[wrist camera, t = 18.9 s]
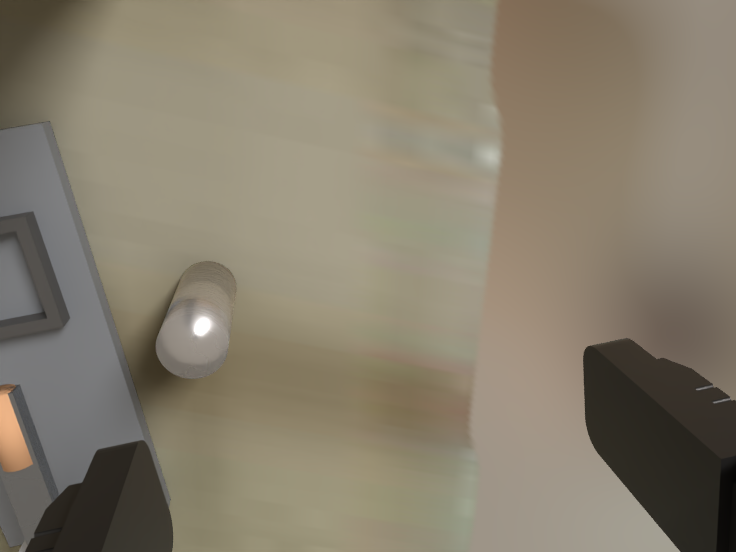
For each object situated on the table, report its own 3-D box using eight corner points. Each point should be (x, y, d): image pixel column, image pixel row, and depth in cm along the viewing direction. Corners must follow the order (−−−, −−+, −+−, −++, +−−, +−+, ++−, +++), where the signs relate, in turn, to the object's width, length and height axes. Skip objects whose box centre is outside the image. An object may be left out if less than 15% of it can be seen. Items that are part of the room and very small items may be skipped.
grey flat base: (-149, 154, 39) (-254, 178, 31) (49, 121, 40) (-4, 136, 32) (17, 533, 49) (-32, 624, 41) (170, 499, 50) (152, 581, 42)
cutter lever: (-16, 388, 40) (-33, 404, 38) (22, 380, 40) (9, 396, 38) (64, 601, 45) (53, 626, 43) (98, 593, 45) (89, 617, 43)
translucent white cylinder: (173, 266, 44) (147, 322, 35) (229, 256, 45) (218, 308, 35) (187, 318, 46) (165, 384, 36) (241, 307, 46) (234, 370, 37)
